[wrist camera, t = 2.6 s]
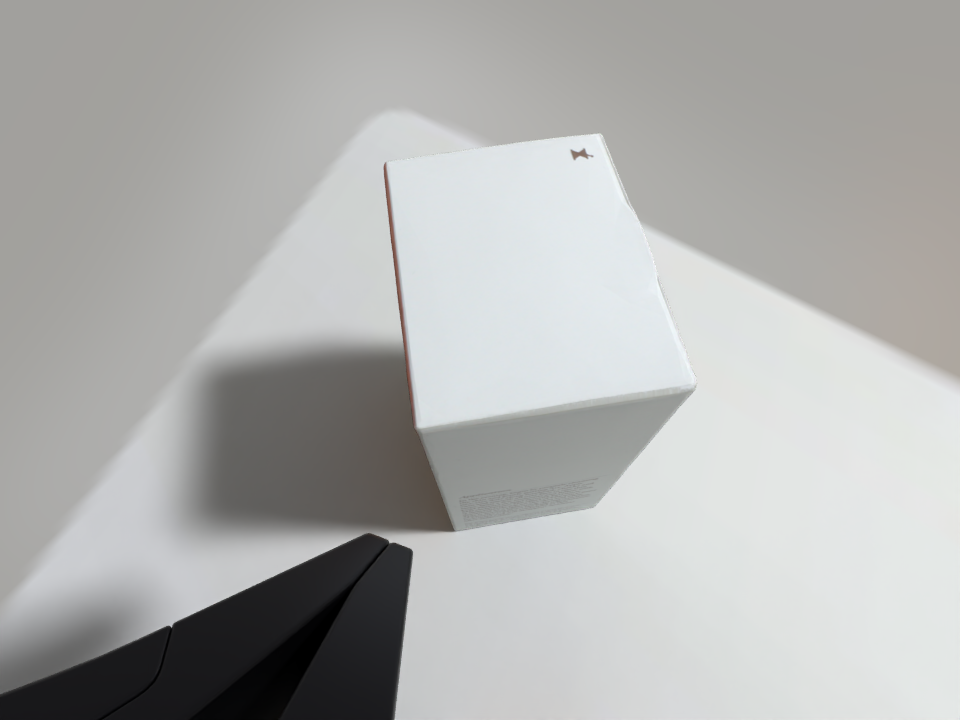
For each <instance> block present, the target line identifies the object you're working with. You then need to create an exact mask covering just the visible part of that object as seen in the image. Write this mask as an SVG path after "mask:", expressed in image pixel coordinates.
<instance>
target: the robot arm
mask: <svg viewBox="0 0 960 720" xmlns="http://www.w3.org/2000/svg"><path fill="white" fill-rule="evenodd" d="M412 559H413V551H412V550H411V549H410V548H407V547H405V546H402V545H399V544H397V543H389V541H388V540H387V539H384V538H382V537H379V536H376V535H374V534H371V533H367V534H364V535H362V536H360V537H357V538H355V539H353V540H351V541H349V542H347V543H345V544H342V545H340V546H338V547H336V548H334V549H332V550H330V551H327V552H325V553H323V554H321V555H319V556H317V557H314V558H312V559H310V560H308V561H306V562H304V563H302V564H299V565H297V566H295V567H293V568H291V569H289V570H287V571H284V572H282V573H280V574H278V575H276V576H274V577H272V578H269V579H267V580H265V581H263V582H261V583H259V584H257V585H254V586H252V587H250V588H248V589H246V590H244V591H241V592H239V593H237V594H235V595H233V596H231V597H229V598H226V599H224V600H222V601H220V602H218V603H216V604H214V605H211V606H209V607H207V608H205V609H203V610H201V611H199V612H196V613H194V614H192V615H190V616H188V617H186V618H183V619H181V620H179V621H177V622H175V623H174V624H173V626H172V628H171V626H166V627H164V628H162V629H159V630H157V631H155V632H153V633H151V634H149V635H146V636H144V637H142V638H140V639H138V640H135V641H133V642H131V643H129V644H126V645H124V646H122V647H120V648H117V649H115V650H113V651H110V652H108V653H106V654H104V655H101V656H99V657H97V658H94V659H92V660H89V661H87V662H84V663H81V664H79V665H76V666H74V667H71V668H69V669H66V670H64V671H61V672H59V673H56V674H54V675H51V676H49V677H46V678H43V679H41V680H38V681H35V682H33V683H30V684H27V685H25V686H22V687H19V688H17V689H14V690H11V691H9V692H6V693H3V694H1V695H0V720H394V718H395V710H396V701H397V692H398V683H399V674H400V665H401V656H402V648H403V639H404V630H405V621H406V612H407V603H408V595H409V586H410V577H411V568H412Z"/></svg>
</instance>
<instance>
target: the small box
mask: <svg viewBox="0 0 960 720" xmlns="http://www.w3.org/2000/svg"><path fill="white" fill-rule="evenodd" d="M384 179H385V188H386V198H387V206H388V215H389V225H390V235H391V243H392V251H393V259H394V268H395V276H396V285H397V294H398V303H399V311H400V319H401V327H402V335H403V343H404V351H405V360H406V371H407V380H408V387H409V395H410V402H411V409H412V418H413V425H414V429H415V430H416V432H417V433H418V436H419V438H420V441H421V443H422V446H423V448H424V451H425V454H426V457H427V459H428V462H429V464H430V467H431V469H432V472H433V475H434V478H435V480H436V483H437V485H438V488H439V491H440V493H441V496H442V499H443V501H444V504H445V507H446V509H447V512H448V514H449V518H450V521H451V523H452V526H453V528H454V530H455V531H460V530H465V529H471V528H477V527H483V526H488V525H494V524H500V523H506V522H512V521H518V520H523V519H529V518H535V517H541V516H547V515H553V514H559V513H565V512H570V511H576V510H582V509H588V508H593V507H595V506H596V505H597V504H598V503H599V501H600V500H601V499H602V498H603V497H604V496H605V495H606V493H607V492H608V491H609V490H610V489H611V488H612V487H613V485H614V484H615V483H616V482H617V481H618V479H619V478H620V477H621V476H622V475H623V473H624V472H625V471H626V470H627V468H628V467H629V466H630V465H631V464H632V462H633V461H634V460H635V459H636V458H637V457H638V456H639V454H640V453H641V452H642V451H643V450H644V449H645V447H646V446H647V445H648V444H649V443H650V441H651V440H652V439H653V438H654V437H655V435H656V434H657V433H658V432H659V431H660V429H661V428H662V427H663V426H664V425H665V423H666V422H667V421H668V420H669V419H670V418H671V416H672V415H673V414H674V413H675V412H676V411H677V409H678V408H679V407H680V406H681V405H682V404H683V403H684V402H685V400H686V399H687V398H688V397H689V396H690V395H691V394H692V393H693V392H694V391H695V389H696V386H697V381H696V375H695V373H694V370H693V368H692V365H691V362H690V359H689V356H688V353H687V350H686V348H685V345H684V342H683V340H682V337H681V334H680V332H679V329H678V326H677V323H676V320H675V318H674V315H673V312H672V310H671V307H670V305H669V302H668V299H667V297H666V294H665V291H664V289H663V286H662V283H661V280H660V278H659V275H658V272H657V269H656V266H655V262H654V259H653V256H652V252H651V249H650V246H649V243H648V241H647V238H646V236H645V233H644V231H643V228H642V226H641V224H640V222H639V220H638V217H637V215H636V213H635V211H634V209H633V208H632V206H631V204H630V202H629V199H628V197H627V195H626V192H625V190H624V187H623V185H622V182H621V180H620V177H619V175H618V172H617V170H616V168H615V165H614V163H613V161H612V158H611V155H610V153H609V151H608V148H607V146H606V143H605V140H604V138H603V136H602V134H599V133H597V134H589V135H579V136H569V137H560V138H551V139H542V140H535V141H527V142H519V143H512V144H506V145H497V146H490V147H483V148H476V149H468V150H463V151H456V152H448V153H441V154H433V155H427V156H420V157H414V158H409V159H402V160H393V161H387V162H386V163H385V164H384Z"/></svg>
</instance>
